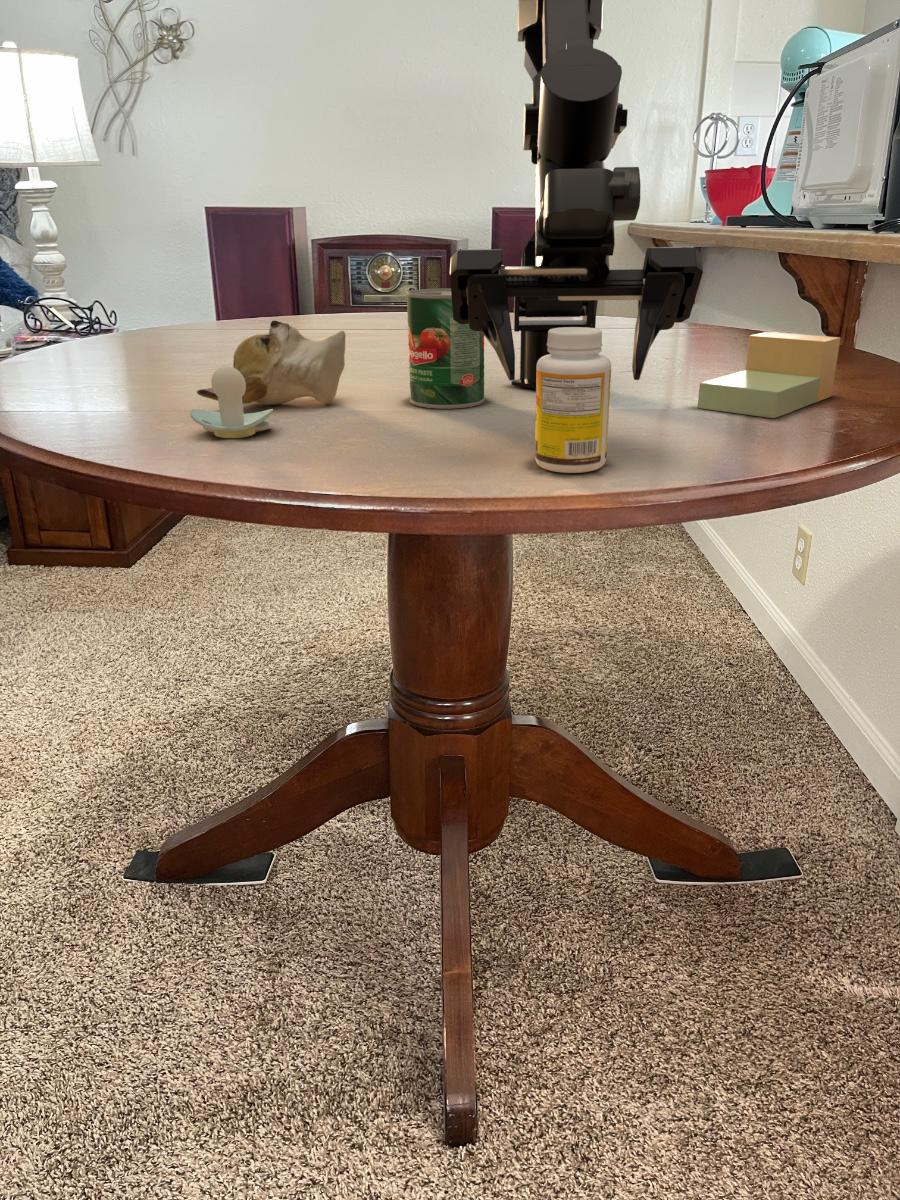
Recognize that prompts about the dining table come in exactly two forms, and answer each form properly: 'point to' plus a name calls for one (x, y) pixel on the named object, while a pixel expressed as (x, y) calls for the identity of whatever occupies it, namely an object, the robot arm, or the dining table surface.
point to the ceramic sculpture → (287, 366)
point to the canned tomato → (442, 353)
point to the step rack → (776, 376)
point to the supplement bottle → (572, 401)
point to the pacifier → (230, 408)
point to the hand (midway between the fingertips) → (574, 376)
